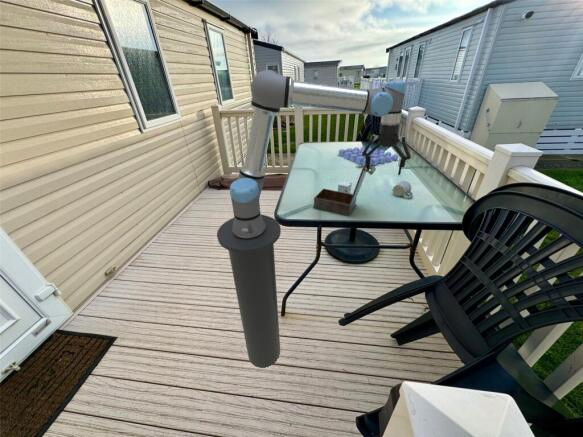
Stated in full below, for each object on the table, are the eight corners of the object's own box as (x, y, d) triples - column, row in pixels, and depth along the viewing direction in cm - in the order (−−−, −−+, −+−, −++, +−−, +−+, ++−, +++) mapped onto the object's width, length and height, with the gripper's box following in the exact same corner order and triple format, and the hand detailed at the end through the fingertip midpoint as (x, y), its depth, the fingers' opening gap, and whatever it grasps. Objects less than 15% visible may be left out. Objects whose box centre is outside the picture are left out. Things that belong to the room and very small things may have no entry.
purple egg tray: (338, 155, 211) (338, 149, 208) (368, 150, 224) (369, 144, 222) (366, 167, 184) (367, 161, 182) (399, 160, 198) (400, 154, 195)
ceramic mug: (390, 194, 144) (393, 182, 140) (397, 190, 149) (400, 178, 145) (407, 201, 138) (411, 188, 133) (414, 196, 142) (418, 184, 138)
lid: (362, 167, 109) (373, 171, 107) (369, 159, 119) (379, 162, 117) (349, 204, 121) (358, 208, 119) (356, 194, 131) (364, 197, 129)
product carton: (337, 195, 144) (338, 184, 140) (341, 191, 149) (342, 180, 145) (346, 198, 141) (348, 186, 137) (350, 194, 146) (352, 182, 142)
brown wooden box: (313, 207, 132) (314, 197, 129) (322, 198, 142) (323, 188, 139) (348, 216, 124) (349, 205, 121) (355, 205, 134) (356, 195, 131)
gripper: (424, 122, 99) (413, 172, 109) (362, 121, 109) (358, 166, 120) (423, 126, 93) (412, 178, 104) (357, 124, 104) (353, 171, 115)
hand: (383, 172), depth 112 cm, fingers open, 13 cm apart
